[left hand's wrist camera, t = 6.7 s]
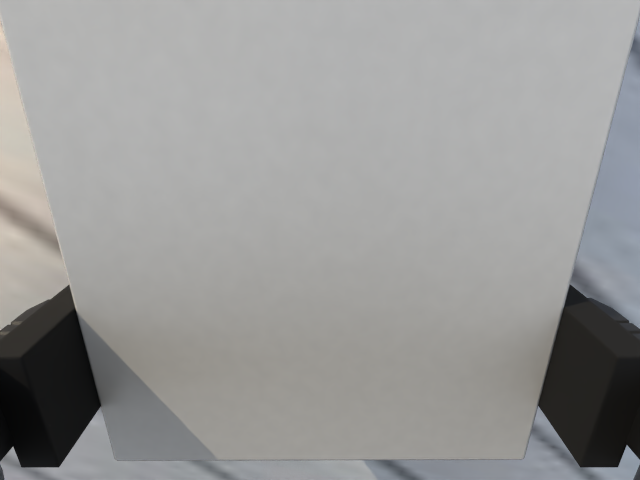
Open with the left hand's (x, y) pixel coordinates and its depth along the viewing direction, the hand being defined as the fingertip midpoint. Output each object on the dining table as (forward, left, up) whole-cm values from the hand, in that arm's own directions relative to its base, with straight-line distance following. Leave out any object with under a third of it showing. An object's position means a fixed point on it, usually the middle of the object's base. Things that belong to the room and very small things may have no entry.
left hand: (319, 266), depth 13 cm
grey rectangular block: (+4, +6, -6) cm, 9 cm away
